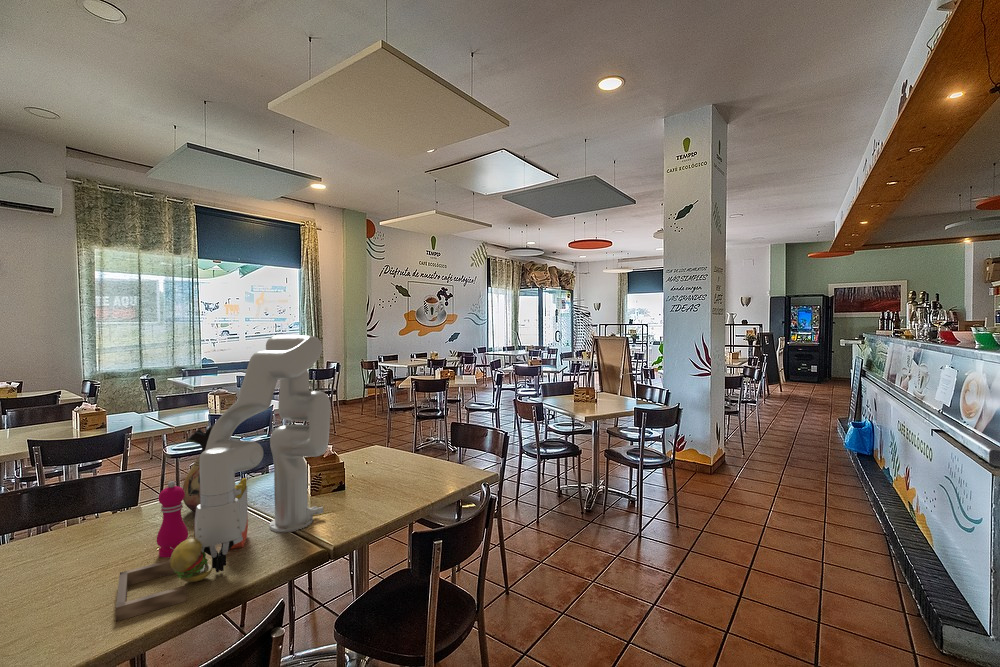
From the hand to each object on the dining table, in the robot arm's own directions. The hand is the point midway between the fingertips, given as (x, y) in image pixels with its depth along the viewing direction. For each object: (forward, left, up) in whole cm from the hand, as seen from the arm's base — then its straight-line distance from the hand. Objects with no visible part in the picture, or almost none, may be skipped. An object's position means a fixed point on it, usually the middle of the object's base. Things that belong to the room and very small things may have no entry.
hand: (219, 569), depth 120 cm
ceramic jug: (-3, -48, -1) cm, 48 cm away
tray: (+13, 0, -1) cm, 13 cm away
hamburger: (+4, 0, -1) cm, 4 cm away
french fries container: (-6, -16, -1) cm, 17 cm away
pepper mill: (+9, -21, -1) cm, 23 cm away
